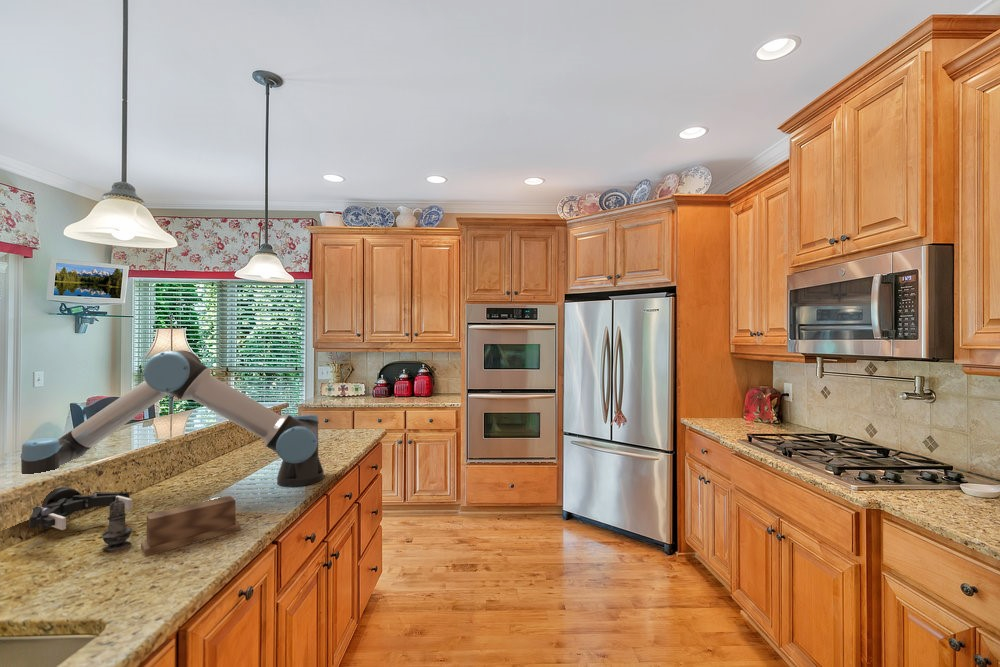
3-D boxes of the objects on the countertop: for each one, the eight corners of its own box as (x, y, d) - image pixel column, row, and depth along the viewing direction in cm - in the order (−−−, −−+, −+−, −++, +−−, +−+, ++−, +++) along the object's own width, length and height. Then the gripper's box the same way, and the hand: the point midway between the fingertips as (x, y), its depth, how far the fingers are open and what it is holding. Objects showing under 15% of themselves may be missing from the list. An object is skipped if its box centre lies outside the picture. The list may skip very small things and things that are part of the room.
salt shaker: (138, 543, 113) (138, 494, 113) (111, 554, 108) (111, 502, 108) (122, 540, 115) (122, 492, 115) (95, 550, 109) (95, 500, 110)
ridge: (233, 523, 125) (233, 494, 125) (240, 530, 120) (240, 499, 120) (141, 547, 111) (141, 514, 111) (144, 556, 106) (144, 521, 106)
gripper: (112, 500, 135) (154, 511, 126) (-9, 533, 112) (31, 549, 103) (112, 474, 135) (154, 484, 126) (-9, 502, 112) (31, 516, 103)
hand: (99, 513), depth 114 cm, fingers open, 13 cm apart
